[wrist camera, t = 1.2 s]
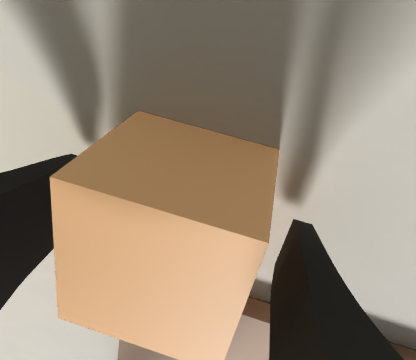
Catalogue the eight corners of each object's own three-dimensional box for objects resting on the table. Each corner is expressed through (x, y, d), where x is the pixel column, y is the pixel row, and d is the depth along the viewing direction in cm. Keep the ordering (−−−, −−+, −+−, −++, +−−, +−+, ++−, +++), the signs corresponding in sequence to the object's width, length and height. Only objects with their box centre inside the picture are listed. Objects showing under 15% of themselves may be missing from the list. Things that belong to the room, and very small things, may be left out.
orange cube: (279, 148, 11) (268, 243, 7) (242, 256, 14) (218, 373, 10) (139, 110, 12) (49, 176, 8) (129, 221, 14) (57, 317, 10)
